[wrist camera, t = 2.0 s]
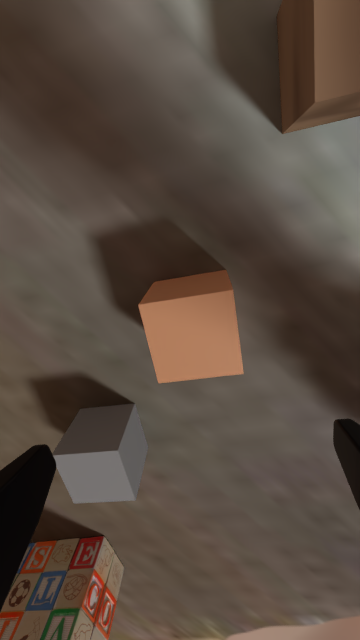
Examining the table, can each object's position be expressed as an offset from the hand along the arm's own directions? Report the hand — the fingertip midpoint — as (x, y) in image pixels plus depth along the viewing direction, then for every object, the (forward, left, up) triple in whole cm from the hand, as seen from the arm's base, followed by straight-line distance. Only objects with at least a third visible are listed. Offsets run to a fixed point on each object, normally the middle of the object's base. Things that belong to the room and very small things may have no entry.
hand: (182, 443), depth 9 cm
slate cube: (+9, +10, -12) cm, 18 cm away
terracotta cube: (0, 0, -12) cm, 12 cm away
